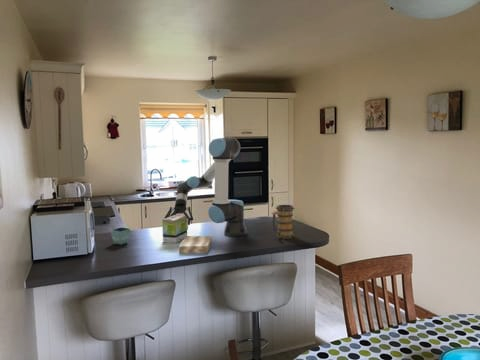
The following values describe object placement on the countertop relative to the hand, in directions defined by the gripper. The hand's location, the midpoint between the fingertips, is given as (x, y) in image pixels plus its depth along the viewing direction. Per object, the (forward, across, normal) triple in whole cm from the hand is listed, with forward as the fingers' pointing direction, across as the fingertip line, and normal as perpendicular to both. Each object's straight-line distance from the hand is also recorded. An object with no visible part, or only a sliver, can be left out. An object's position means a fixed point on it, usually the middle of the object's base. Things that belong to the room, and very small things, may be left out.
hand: (177, 229), depth 241 cm
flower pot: (+11, +34, +2) cm, 36 cm away
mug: (+4, -68, -5) cm, 68 cm away
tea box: (+7, +1, -3) cm, 7 cm away
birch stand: (+19, -15, +10) cm, 26 cm away
